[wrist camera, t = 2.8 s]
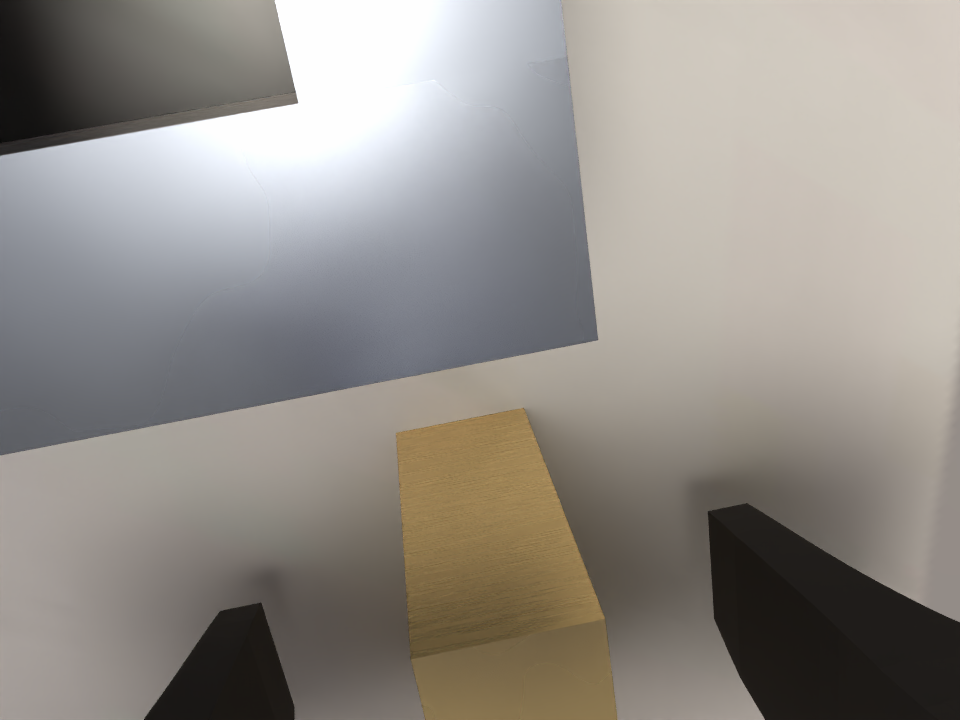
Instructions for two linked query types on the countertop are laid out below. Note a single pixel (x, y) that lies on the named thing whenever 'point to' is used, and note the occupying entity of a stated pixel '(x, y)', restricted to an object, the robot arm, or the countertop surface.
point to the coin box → (301, 226)
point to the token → (496, 579)
